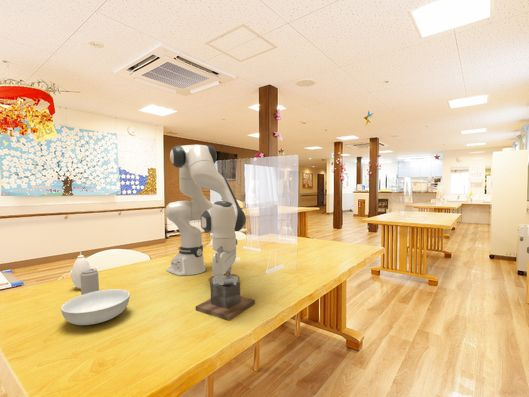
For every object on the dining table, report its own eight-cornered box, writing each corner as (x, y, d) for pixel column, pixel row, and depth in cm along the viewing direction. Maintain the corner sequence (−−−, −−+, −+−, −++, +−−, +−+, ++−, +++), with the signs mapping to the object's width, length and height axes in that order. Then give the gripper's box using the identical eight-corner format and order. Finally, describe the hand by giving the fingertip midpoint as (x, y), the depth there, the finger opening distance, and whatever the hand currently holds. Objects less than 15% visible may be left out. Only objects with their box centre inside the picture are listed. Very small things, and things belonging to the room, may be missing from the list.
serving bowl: (115, 301, 113) (115, 284, 113) (140, 315, 100) (140, 297, 100) (53, 320, 97) (52, 301, 97) (73, 341, 84) (72, 318, 84)
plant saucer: (202, 287, 128) (202, 281, 128) (218, 277, 142) (218, 272, 142) (231, 290, 123) (231, 284, 123) (244, 280, 137) (244, 274, 137)
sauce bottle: (70, 288, 129) (68, 250, 128) (89, 284, 134) (87, 247, 134) (74, 292, 123) (72, 252, 123) (94, 287, 129) (92, 249, 128)
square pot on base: (195, 310, 103) (194, 286, 103) (223, 295, 117) (223, 274, 116) (228, 320, 95) (228, 294, 94) (254, 303, 108) (254, 280, 108)
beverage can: (102, 296, 119) (101, 268, 118) (89, 302, 113) (87, 273, 112) (91, 294, 121) (90, 267, 121) (77, 300, 115) (76, 271, 115)
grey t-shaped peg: (213, 302, 105) (212, 278, 104) (215, 299, 108) (215, 275, 107) (236, 303, 104) (235, 278, 103) (238, 300, 107) (237, 276, 106)
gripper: (224, 250, 94) (225, 290, 95) (238, 239, 114) (239, 272, 115) (207, 250, 95) (208, 289, 95) (223, 239, 115) (224, 271, 116)
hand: (225, 280), depth 105 cm, fingers open, 8 cm apart
